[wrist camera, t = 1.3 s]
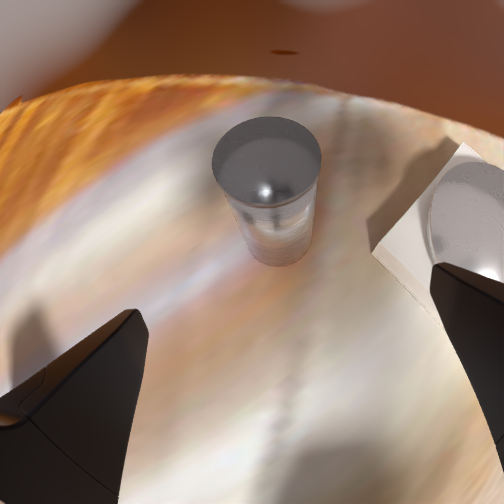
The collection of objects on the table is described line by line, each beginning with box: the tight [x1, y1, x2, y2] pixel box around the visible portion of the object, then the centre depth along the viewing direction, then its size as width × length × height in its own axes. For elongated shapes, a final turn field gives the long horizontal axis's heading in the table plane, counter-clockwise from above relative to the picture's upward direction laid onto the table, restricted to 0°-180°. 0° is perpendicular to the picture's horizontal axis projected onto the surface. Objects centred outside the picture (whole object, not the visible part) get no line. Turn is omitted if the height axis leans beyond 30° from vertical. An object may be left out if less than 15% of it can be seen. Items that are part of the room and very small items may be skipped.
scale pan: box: [427, 162, 504, 283], centre depth 18 cm, size 13×14×4 cm
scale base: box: [372, 142, 488, 330], centre depth 19 cm, size 14×14×2 cm
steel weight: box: [212, 117, 321, 267], centre depth 19 cm, size 5×5×10 cm
